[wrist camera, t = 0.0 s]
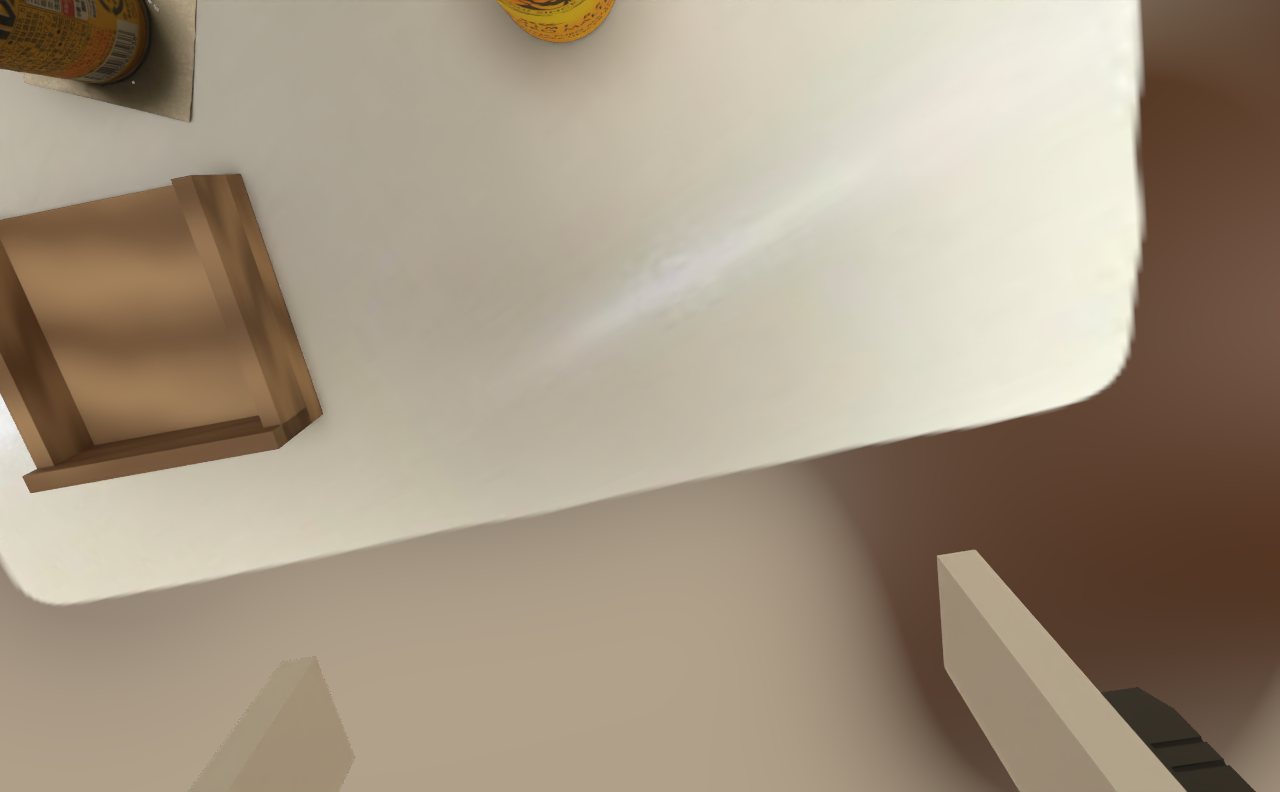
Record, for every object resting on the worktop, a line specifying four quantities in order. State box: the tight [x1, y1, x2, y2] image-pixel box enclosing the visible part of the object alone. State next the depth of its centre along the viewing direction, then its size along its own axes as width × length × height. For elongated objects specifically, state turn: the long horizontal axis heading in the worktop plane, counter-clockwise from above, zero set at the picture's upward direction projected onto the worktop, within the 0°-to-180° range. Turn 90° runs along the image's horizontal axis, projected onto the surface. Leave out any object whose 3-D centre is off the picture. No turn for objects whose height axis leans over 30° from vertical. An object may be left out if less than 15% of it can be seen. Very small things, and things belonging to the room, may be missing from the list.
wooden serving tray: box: [0, 174, 323, 493], centre depth 38 cm, size 14×14×6 cm
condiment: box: [0, 0, 196, 122], centre depth 31 cm, size 7×8×12 cm
